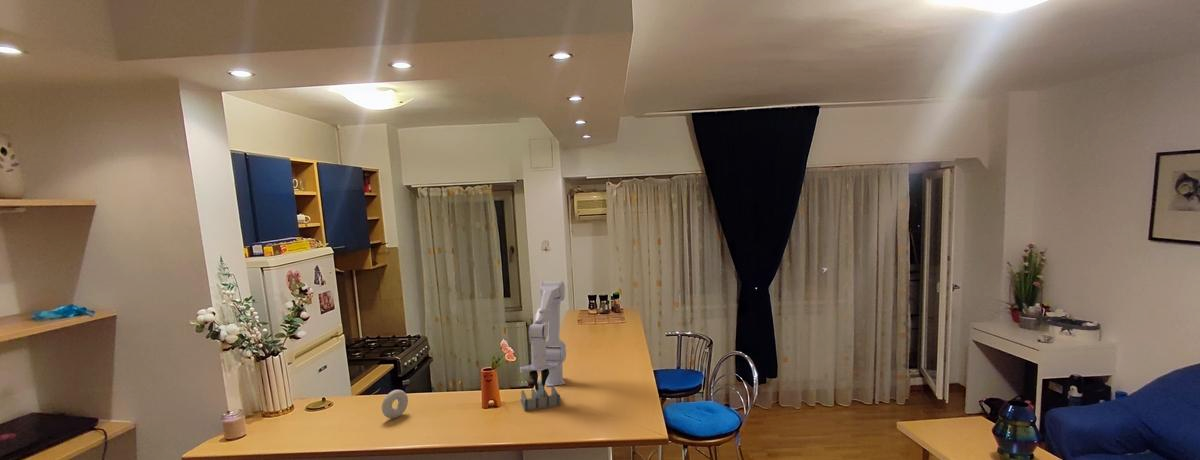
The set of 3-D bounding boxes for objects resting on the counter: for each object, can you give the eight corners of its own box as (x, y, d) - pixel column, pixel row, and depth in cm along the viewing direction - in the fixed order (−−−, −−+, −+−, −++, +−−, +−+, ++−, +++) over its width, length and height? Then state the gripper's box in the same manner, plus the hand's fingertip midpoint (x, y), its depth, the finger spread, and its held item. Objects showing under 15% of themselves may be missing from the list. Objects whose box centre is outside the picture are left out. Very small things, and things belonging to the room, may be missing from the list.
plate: (535, 396, 183) (535, 380, 183) (540, 395, 183) (540, 380, 183) (539, 402, 176) (538, 386, 176) (543, 401, 177) (543, 385, 177)
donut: (404, 411, 174) (403, 385, 174) (410, 413, 172) (409, 386, 172) (380, 421, 166) (379, 394, 165) (386, 424, 164) (385, 396, 163)
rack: (520, 401, 182) (520, 390, 182) (554, 396, 186) (554, 386, 186) (524, 411, 172) (524, 400, 172) (560, 405, 177) (560, 395, 176)
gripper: (521, 359, 173) (522, 395, 173) (559, 355, 178) (560, 390, 178) (518, 354, 180) (519, 388, 180) (555, 350, 184) (556, 384, 185)
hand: (539, 389), depth 180 cm, fingers closed on plate, 2 cm apart
